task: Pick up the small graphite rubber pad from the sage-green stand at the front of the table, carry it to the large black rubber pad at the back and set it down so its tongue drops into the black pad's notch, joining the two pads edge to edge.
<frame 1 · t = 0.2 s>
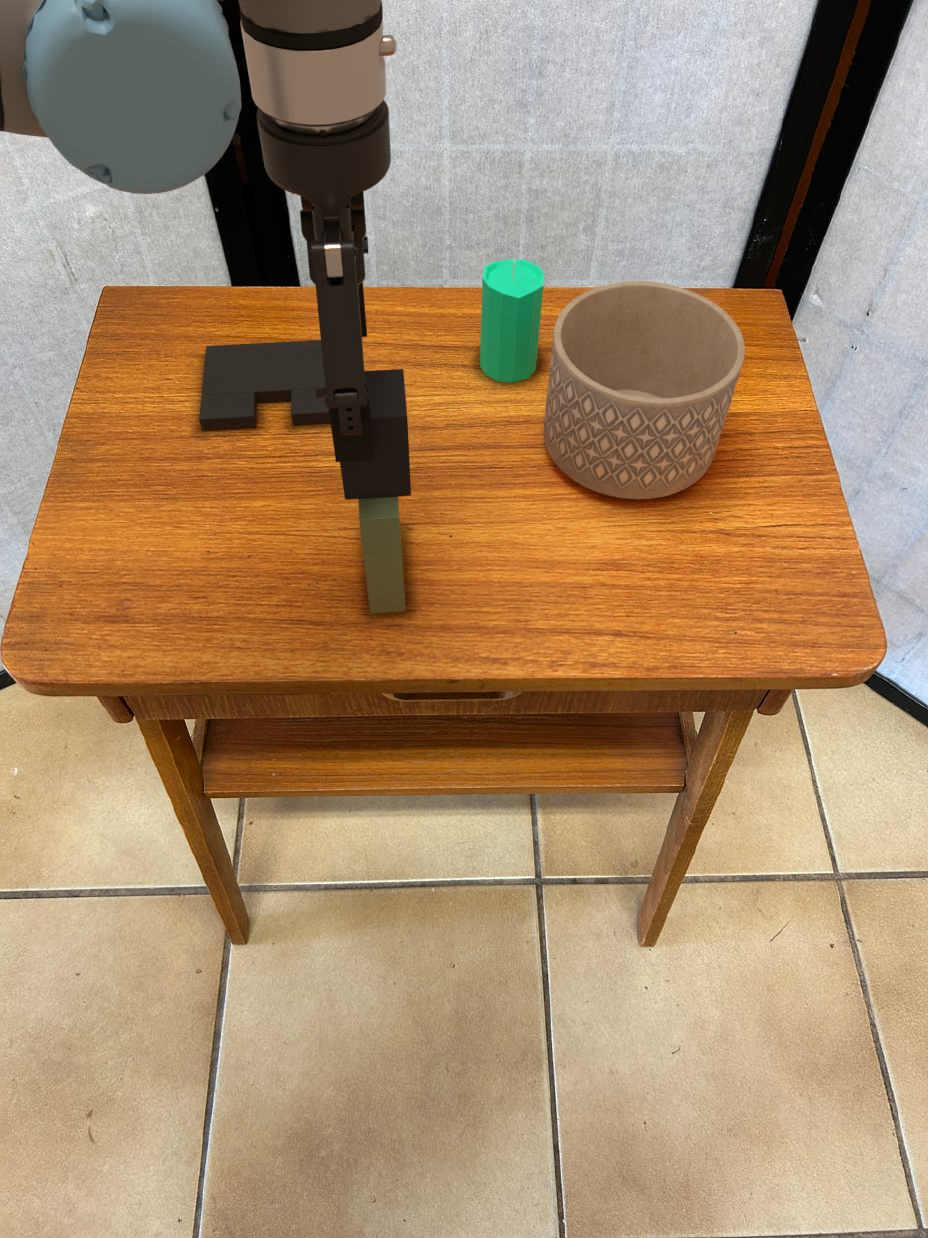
hand: (352, 393, 71), 17 cm above the table, tool pointing down, fingers open, 13 cm apart
tongue pad: (376, 460, 74), point 12 cm above the table, touching stand
candle: (508, 364, 99), on the table
planter: (626, 447, 92), on the table
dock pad: (275, 388, 96), on the table
stand: (385, 571, 83), on the table
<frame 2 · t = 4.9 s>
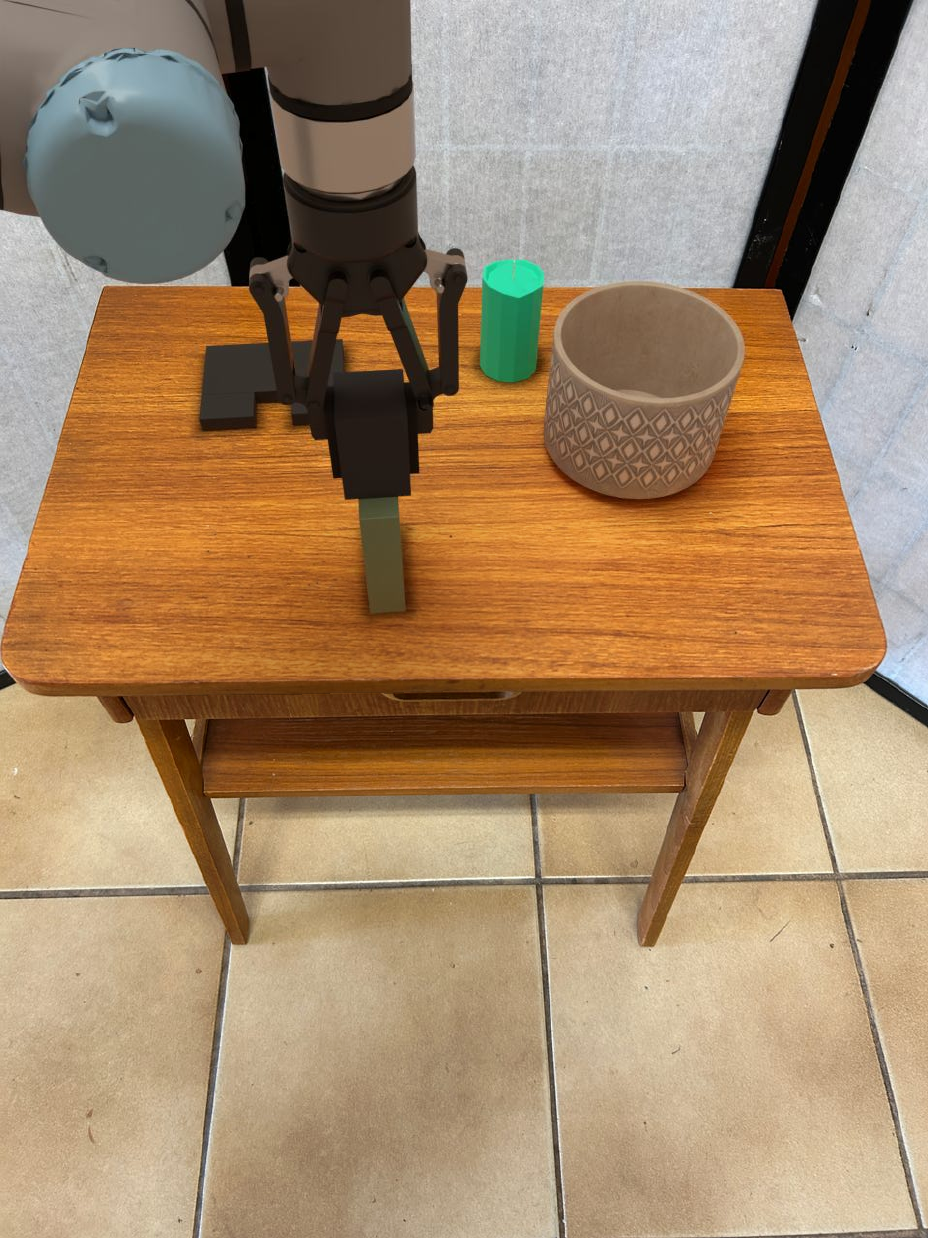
hand: (375, 462, 72), 13 cm above the table, tool pointing down, fingers closed on tongue pad, 5 cm apart
tongue pad: (375, 460, 74), point 12 cm above the table, touching gripper, stand
everything else where it was.
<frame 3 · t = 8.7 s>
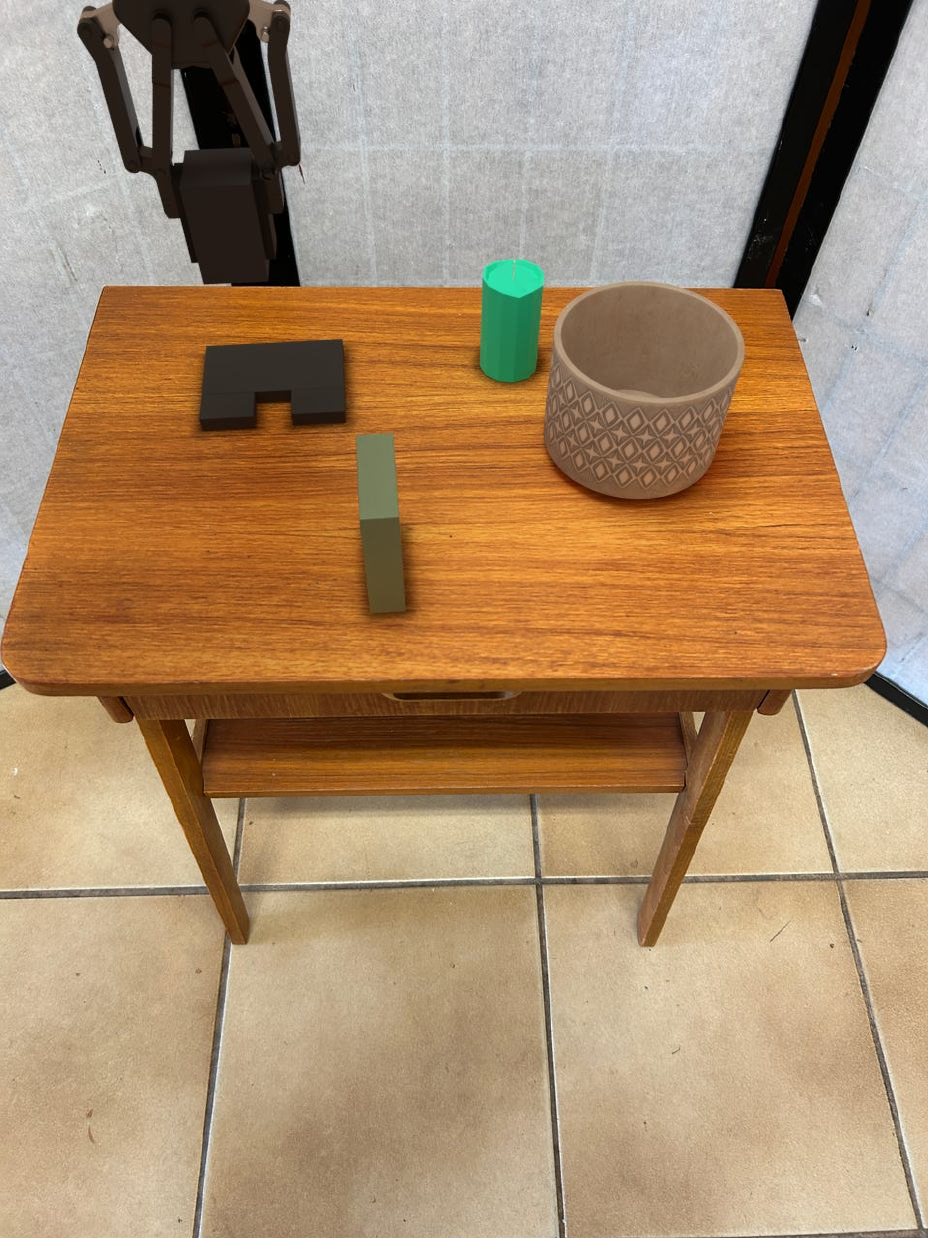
hand: (234, 250, 74), 21 cm above the table, tool pointing down, fingers closed on tongue pad, 5 cm apart
tongue pad: (238, 252, 76), point 20 cm above the table, touching gripper
everything else where it was.
when the fingers open (1 cm above the table, at t = 12.6 s): tongue pad stays where it is, on the table.
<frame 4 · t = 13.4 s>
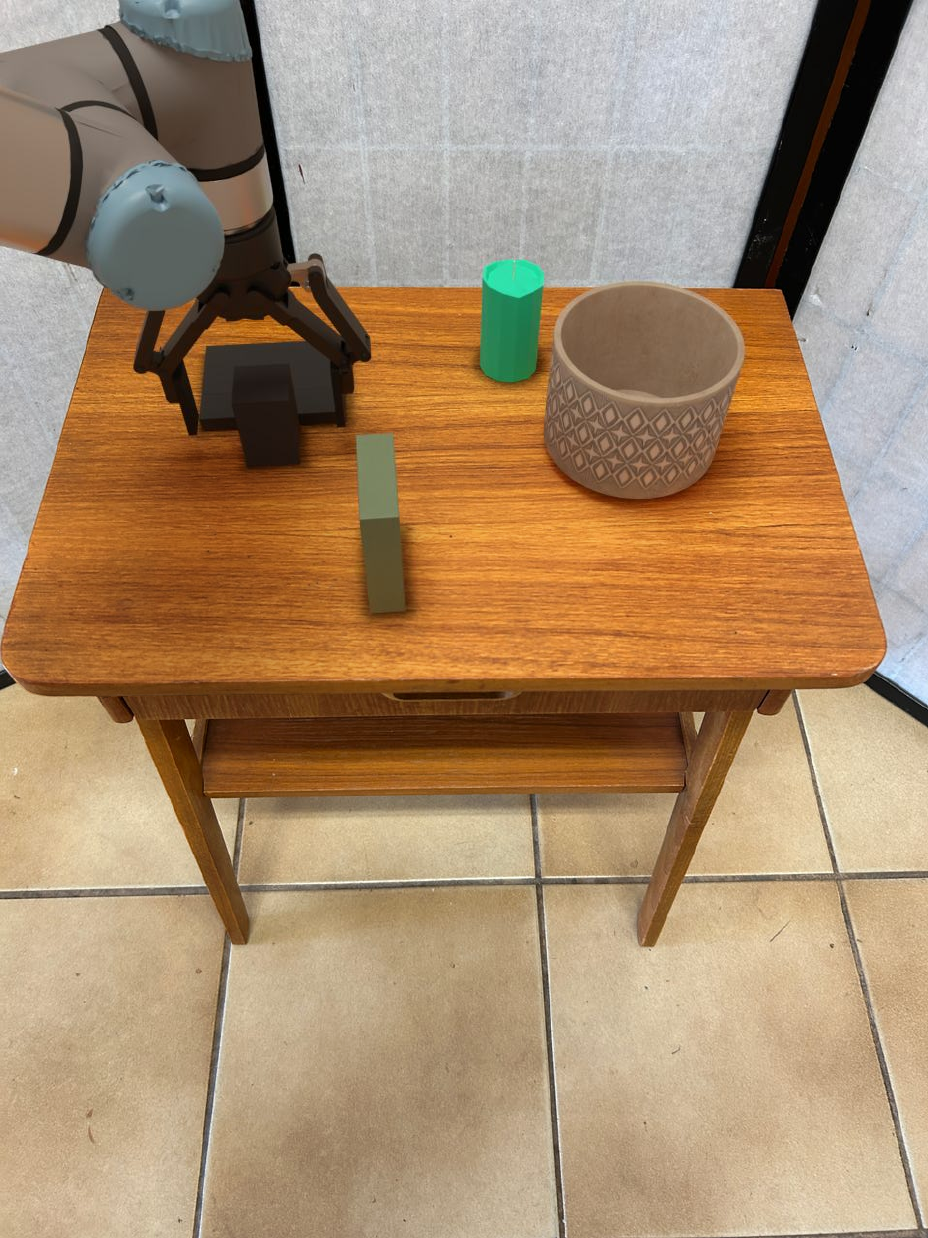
hand: (268, 421, 89), 3 cm above the table, tool pointing down, fingers open, 13 cm apart
tongue pad: (274, 436, 92), on the table
everything else where it was.
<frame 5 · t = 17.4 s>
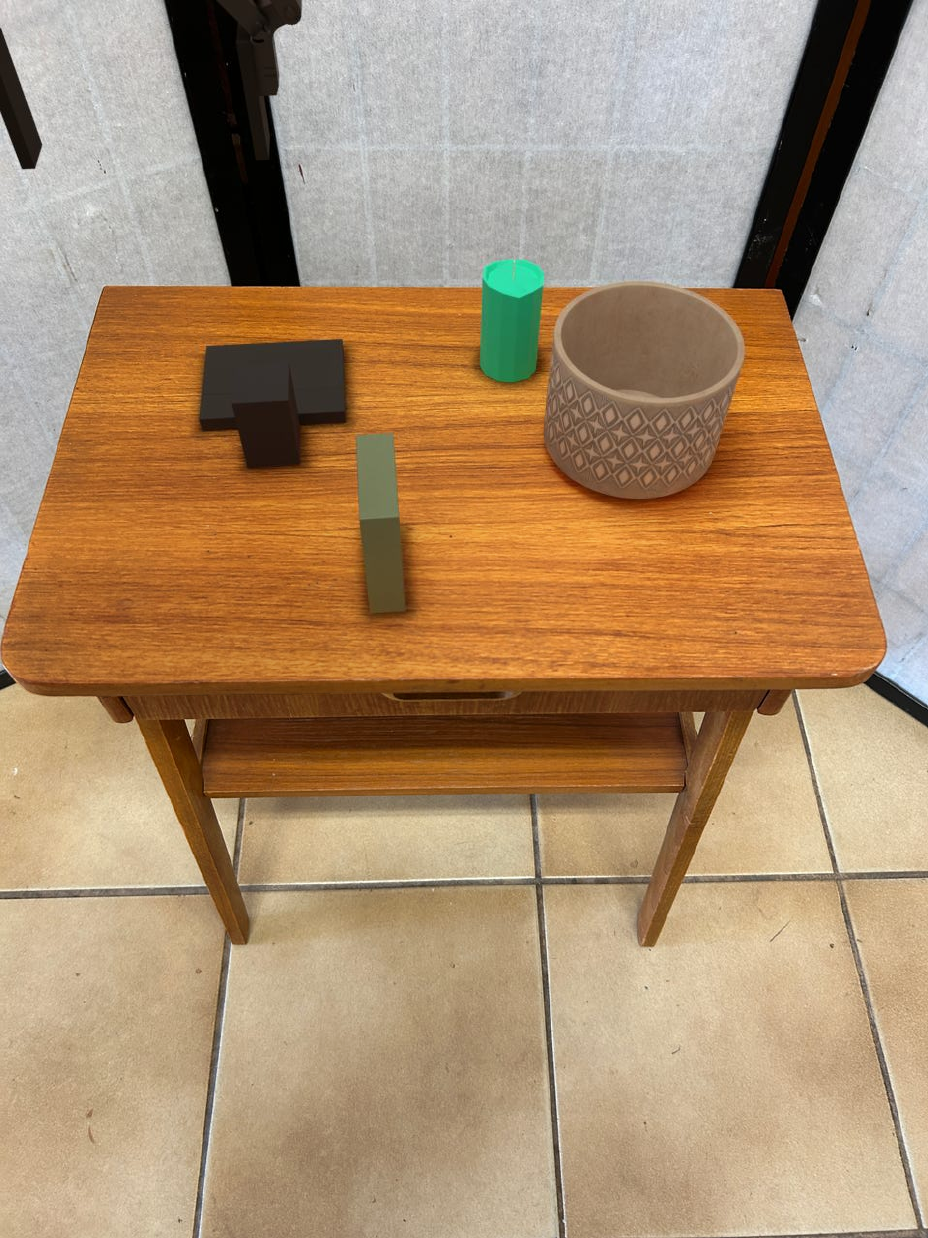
hand: (148, 153, 57), 35 cm above the table, tool pointing down, fingers open, 13 cm apart
nothing on the table moved.
at the end: tongue pad 0.3 cm from the target spot on the table beside the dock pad, on the table; tongue pad tilted 0°; the gripper is holding nothing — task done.
